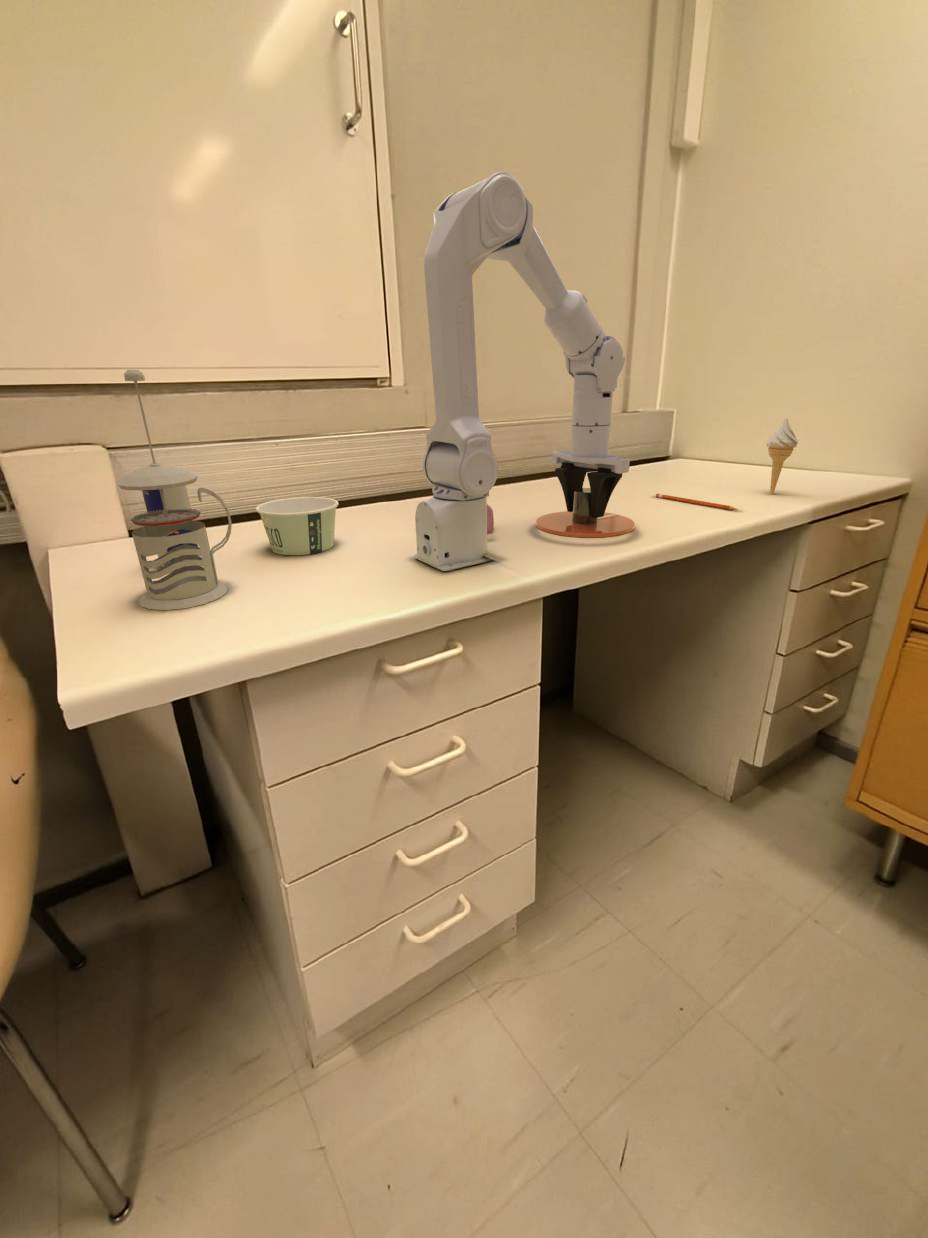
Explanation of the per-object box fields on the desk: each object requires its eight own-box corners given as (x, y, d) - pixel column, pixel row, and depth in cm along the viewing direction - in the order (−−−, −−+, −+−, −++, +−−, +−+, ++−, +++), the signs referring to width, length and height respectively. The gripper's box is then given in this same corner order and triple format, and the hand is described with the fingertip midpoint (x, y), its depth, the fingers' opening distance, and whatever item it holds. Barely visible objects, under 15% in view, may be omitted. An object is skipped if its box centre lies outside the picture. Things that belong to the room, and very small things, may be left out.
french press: (142, 588, 70) (85, 370, 61) (240, 574, 75) (202, 368, 65) (135, 616, 62) (68, 368, 52) (246, 598, 66) (203, 366, 57)
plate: (584, 543, 81) (587, 504, 79) (516, 523, 93) (517, 489, 91) (655, 526, 89) (659, 491, 87) (584, 510, 101) (586, 478, 99)
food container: (358, 544, 87) (354, 502, 85) (293, 563, 79) (286, 517, 76) (311, 532, 95) (306, 493, 92) (246, 549, 86) (239, 506, 83)
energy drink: (156, 571, 77) (134, 482, 72) (165, 560, 81) (144, 476, 77) (199, 567, 78) (180, 479, 73) (204, 557, 83) (187, 473, 78)
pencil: (657, 496, 116) (658, 493, 116) (739, 511, 103) (740, 507, 103) (655, 497, 116) (655, 493, 116) (737, 511, 103) (738, 508, 102)
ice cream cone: (750, 492, 118) (764, 416, 112) (772, 490, 120) (786, 415, 114) (771, 497, 113) (786, 418, 107) (793, 495, 115) (810, 417, 109)
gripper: (647, 425, 82) (637, 518, 87) (576, 421, 93) (571, 503, 98) (613, 428, 78) (605, 525, 83) (543, 423, 89) (540, 508, 95)
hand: (585, 513), depth 91 cm, fingers open, 5 cm apart
